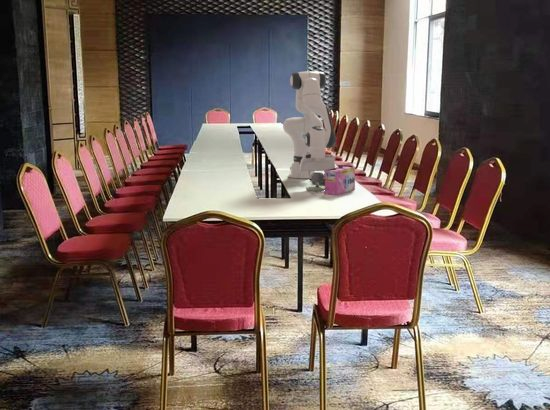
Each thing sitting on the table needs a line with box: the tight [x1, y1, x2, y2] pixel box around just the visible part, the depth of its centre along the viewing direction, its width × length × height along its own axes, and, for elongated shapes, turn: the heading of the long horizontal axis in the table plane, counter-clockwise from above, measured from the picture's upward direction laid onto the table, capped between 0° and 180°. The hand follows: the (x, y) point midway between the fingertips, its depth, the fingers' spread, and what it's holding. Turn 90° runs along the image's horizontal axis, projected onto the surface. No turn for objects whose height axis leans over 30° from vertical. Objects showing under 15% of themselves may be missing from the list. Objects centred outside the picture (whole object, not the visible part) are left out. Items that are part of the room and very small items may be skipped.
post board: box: [306, 183, 325, 192], centre depth 348 cm, size 8×16×6 cm, turn 95°
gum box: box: [324, 165, 356, 196], centre depth 341 cm, size 24×8×14 cm, turn 146°
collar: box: [311, 171, 324, 184], centre depth 349 cm, size 6×6×5 cm
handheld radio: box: [308, 171, 325, 186], centre depth 366 cm, size 7×3×25 cm
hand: (317, 178), depth 349 cm, fingers closed on collar, 6 cm apart
